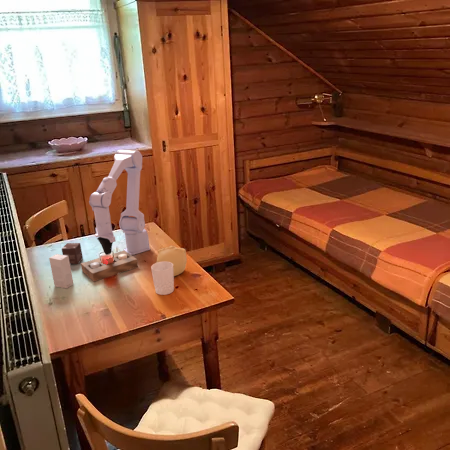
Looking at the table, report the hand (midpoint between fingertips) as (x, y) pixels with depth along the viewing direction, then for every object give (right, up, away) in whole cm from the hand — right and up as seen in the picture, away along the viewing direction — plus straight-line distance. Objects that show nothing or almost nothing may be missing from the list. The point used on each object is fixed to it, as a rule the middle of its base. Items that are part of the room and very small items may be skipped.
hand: (108, 253), depth 199 cm
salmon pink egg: (0, -5, +2) cm, 5 cm away
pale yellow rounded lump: (+26, -7, -3) cm, 28 cm away
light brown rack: (0, -6, +2) cm, 7 cm away
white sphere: (-5, -8, -1) cm, 9 cm away
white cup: (+25, -13, -17) cm, 33 cm away
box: (-17, -4, +12) cm, 21 cm away
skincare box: (-15, -12, -9) cm, 21 cm away
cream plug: (+5, -5, +6) cm, 9 cm away
